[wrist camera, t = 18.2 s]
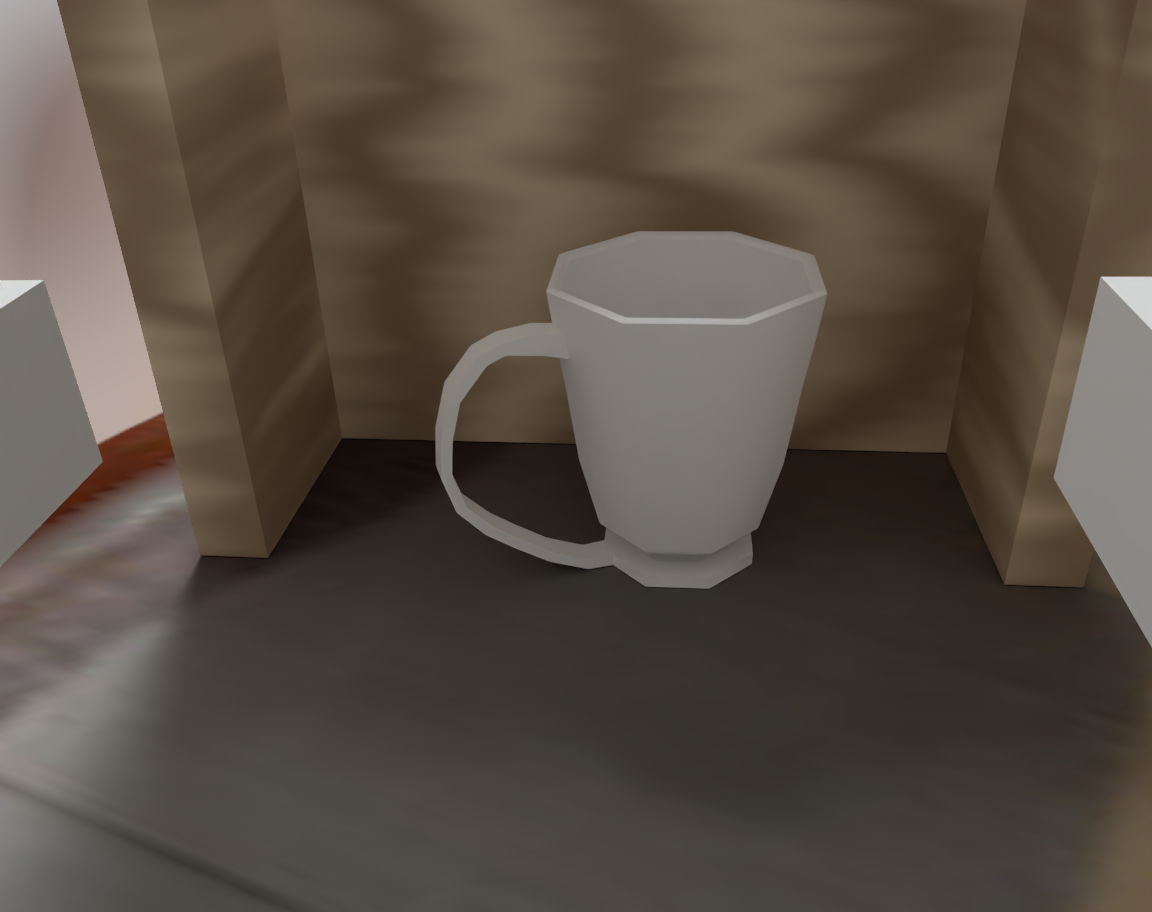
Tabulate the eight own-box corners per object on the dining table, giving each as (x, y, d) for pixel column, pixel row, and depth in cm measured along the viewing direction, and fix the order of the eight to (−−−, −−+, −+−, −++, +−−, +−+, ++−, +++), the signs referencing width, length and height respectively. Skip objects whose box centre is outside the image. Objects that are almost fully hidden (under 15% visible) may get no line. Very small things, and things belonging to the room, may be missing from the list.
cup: (853, 591, 27) (892, 299, 23) (479, 674, 24) (449, 365, 20) (738, 464, 32) (753, 214, 28) (428, 521, 30) (397, 257, 26)
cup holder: (1000, 424, 34) (1138, -249, 25) (1091, 587, 26) (1342, -304, 17) (299, 409, 36) (186, -210, 27) (193, 555, 29) (-16, -243, 19)
